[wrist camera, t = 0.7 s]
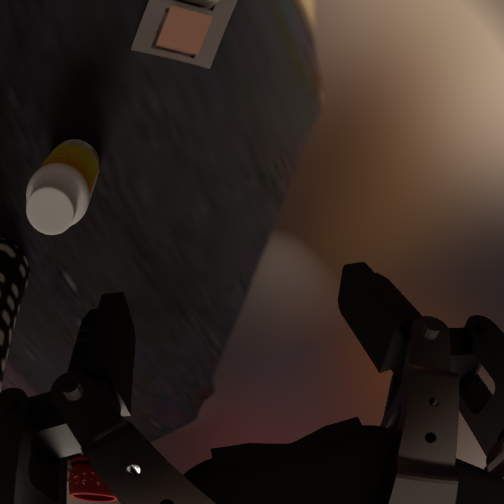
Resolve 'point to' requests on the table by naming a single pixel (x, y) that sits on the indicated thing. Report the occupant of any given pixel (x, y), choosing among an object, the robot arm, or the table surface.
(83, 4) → the table surface
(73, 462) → the plant pot
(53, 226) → the supplement bottle
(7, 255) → the spotted tube
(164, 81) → the table surface
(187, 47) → the key terracotta
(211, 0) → the key sage
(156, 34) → the keypad frame
